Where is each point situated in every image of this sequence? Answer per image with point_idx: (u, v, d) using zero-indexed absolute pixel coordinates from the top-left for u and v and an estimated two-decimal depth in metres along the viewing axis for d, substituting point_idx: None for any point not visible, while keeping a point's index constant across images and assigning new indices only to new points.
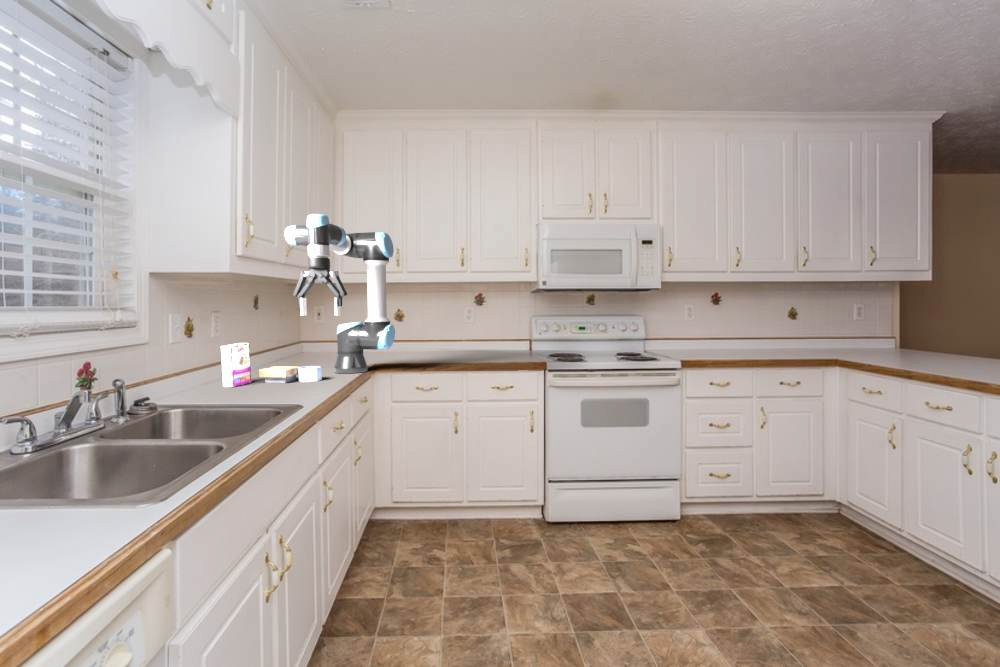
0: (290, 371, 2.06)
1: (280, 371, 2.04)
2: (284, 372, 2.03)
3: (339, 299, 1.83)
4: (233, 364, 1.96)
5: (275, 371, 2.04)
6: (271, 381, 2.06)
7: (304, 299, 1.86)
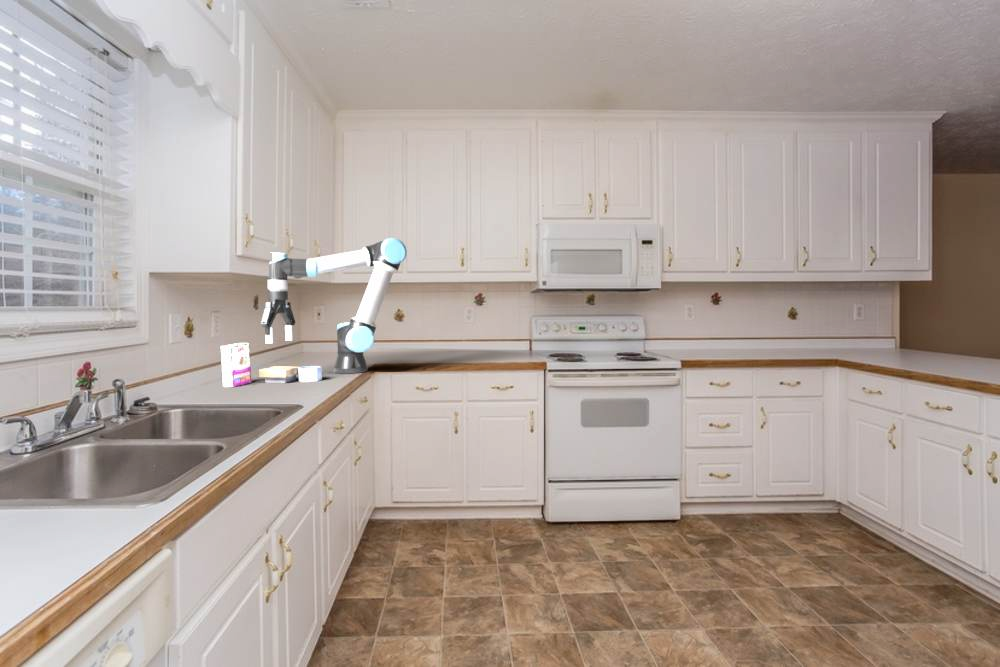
0: (290, 371, 2.06)
1: (280, 371, 2.04)
2: (284, 372, 2.03)
3: None
4: (233, 364, 1.96)
5: (275, 371, 2.04)
6: (271, 381, 2.06)
7: (288, 326, 2.15)
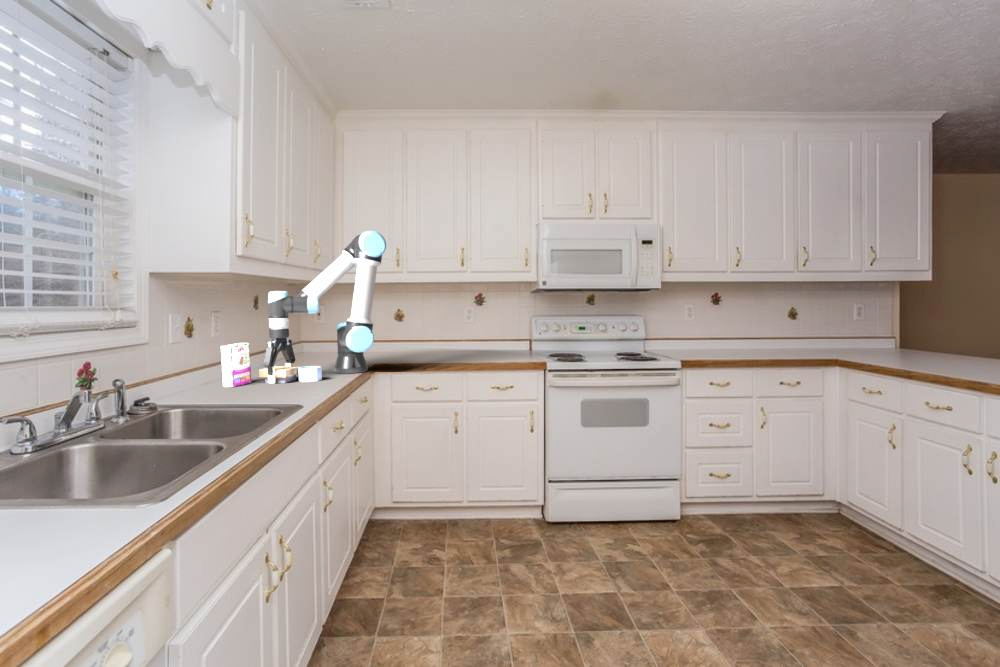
0: (290, 371, 2.06)
1: (280, 371, 2.04)
2: (284, 372, 2.03)
3: None
4: (233, 364, 1.96)
5: (275, 371, 2.04)
6: None
7: (288, 364, 2.15)
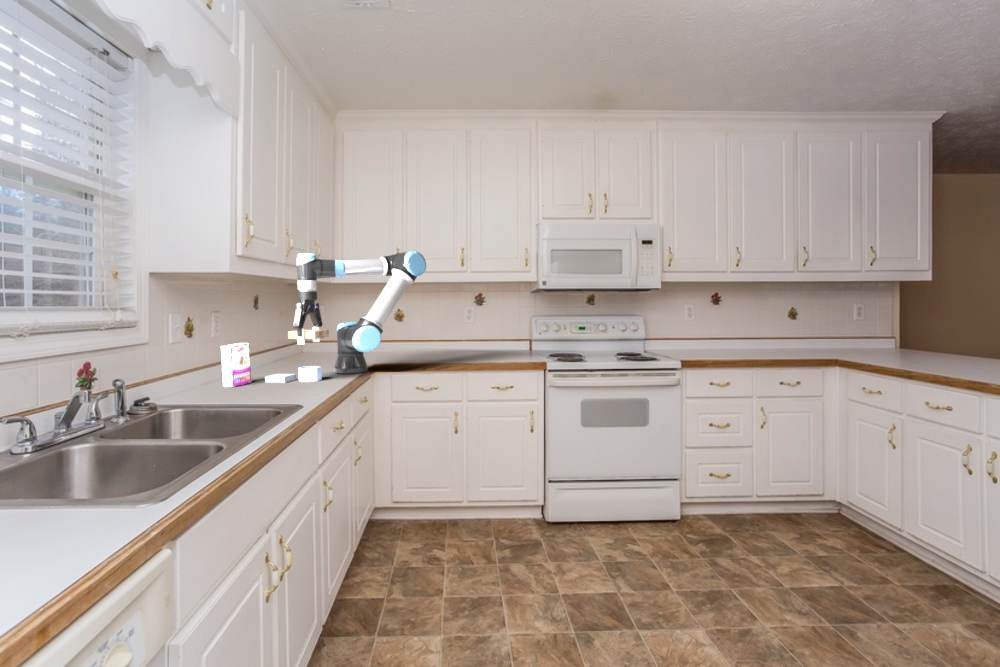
0: (319, 333, 2.07)
1: (309, 333, 2.04)
2: (313, 333, 2.04)
3: None
4: (233, 364, 1.96)
5: (304, 333, 2.05)
6: (271, 381, 2.06)
7: (315, 328, 2.16)
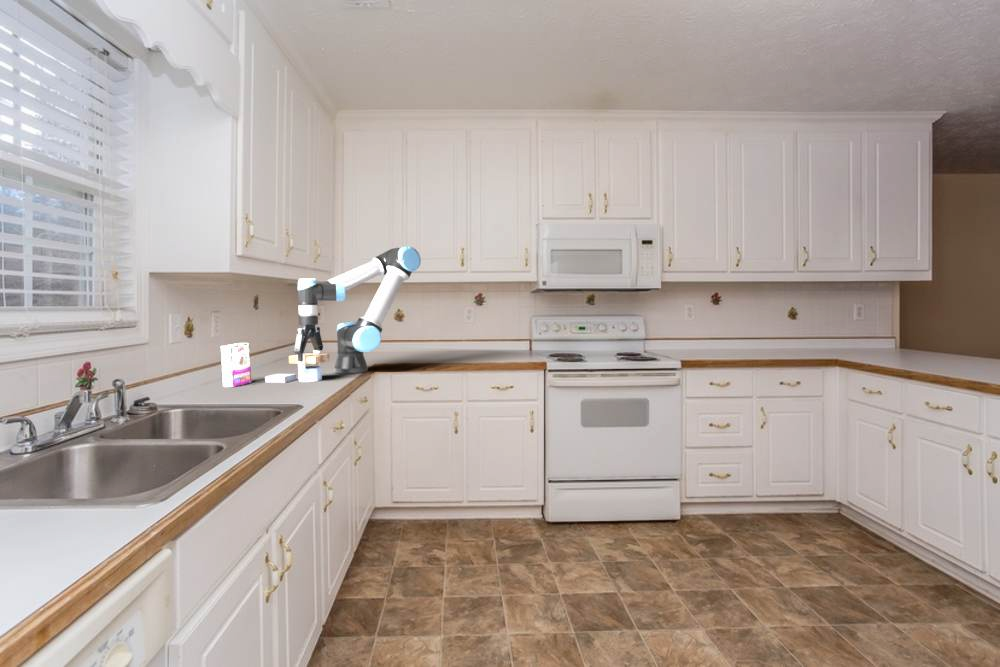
0: (319, 358, 2.08)
1: (310, 358, 2.05)
2: (314, 358, 2.05)
3: None
4: (233, 364, 1.96)
5: (305, 357, 2.05)
6: (271, 381, 2.06)
7: (316, 352, 2.16)
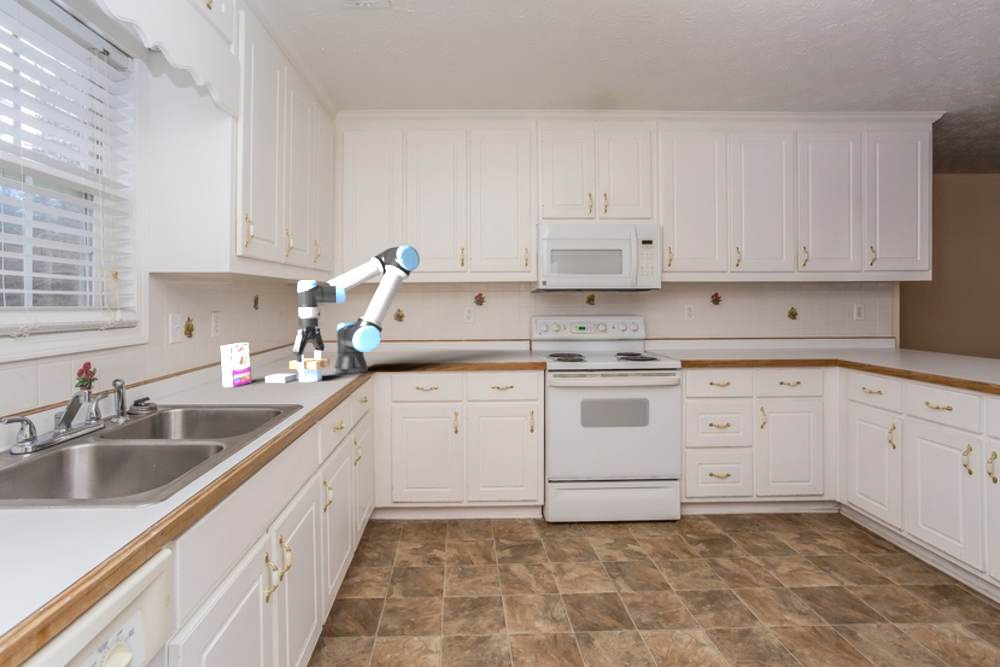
0: (320, 363, 2.08)
1: (310, 363, 2.05)
2: (314, 364, 2.05)
3: None
4: (233, 364, 1.95)
5: (305, 363, 2.06)
6: (271, 381, 2.06)
7: (317, 352, 2.17)
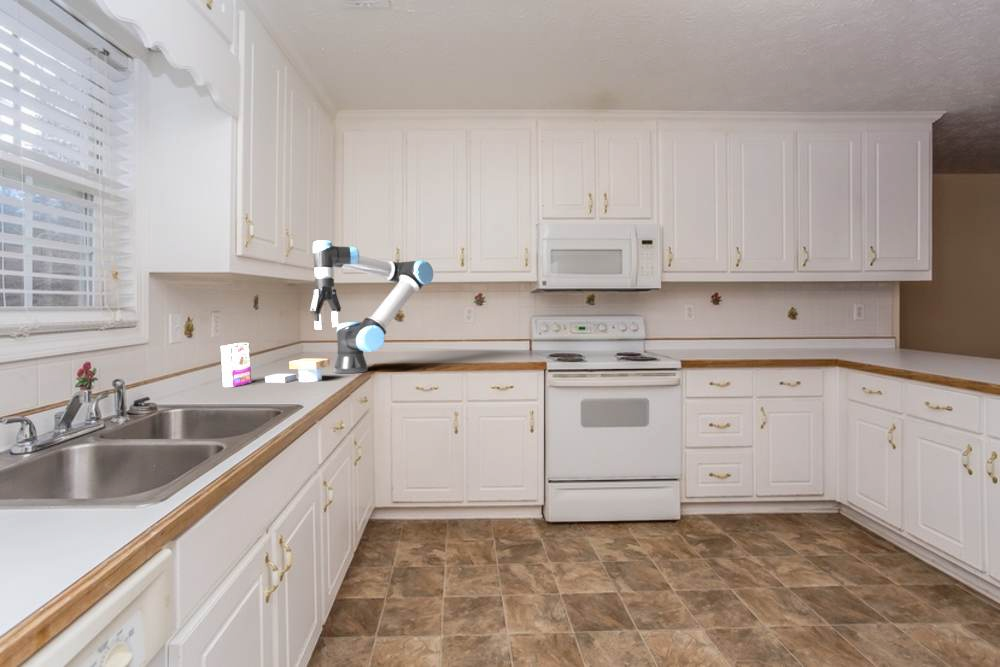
0: (320, 363, 2.08)
1: (310, 363, 2.05)
2: (314, 364, 2.05)
3: None
4: (233, 364, 1.96)
5: (305, 363, 2.06)
6: (271, 381, 2.06)
7: (334, 313, 2.20)
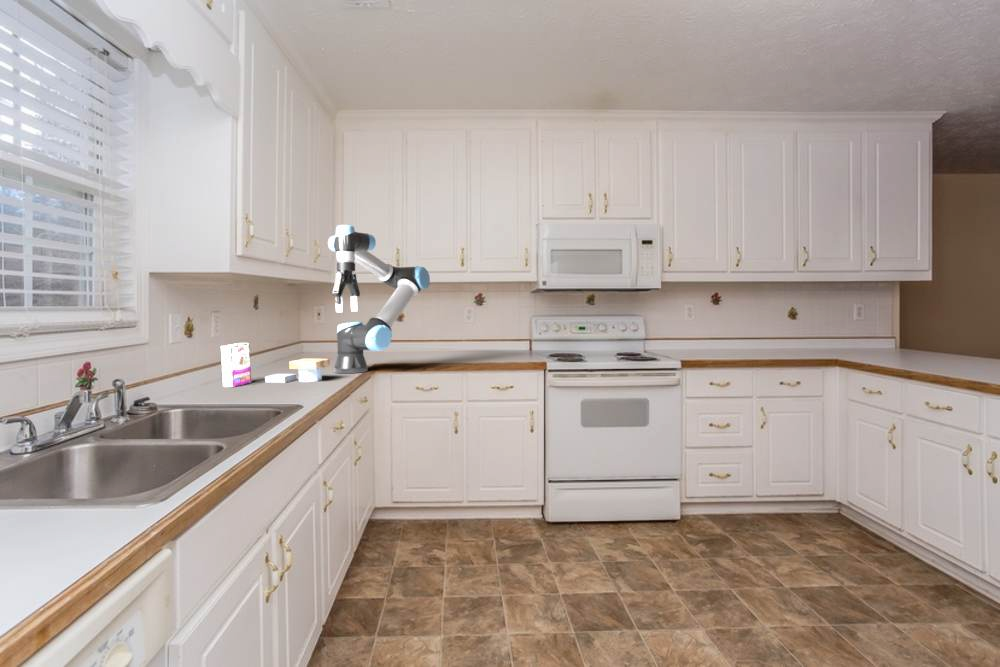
0: (320, 363, 2.08)
1: (310, 363, 2.05)
2: (314, 364, 2.05)
3: None
4: (233, 364, 1.95)
5: (305, 363, 2.06)
6: (271, 381, 2.06)
7: (354, 297, 2.22)
